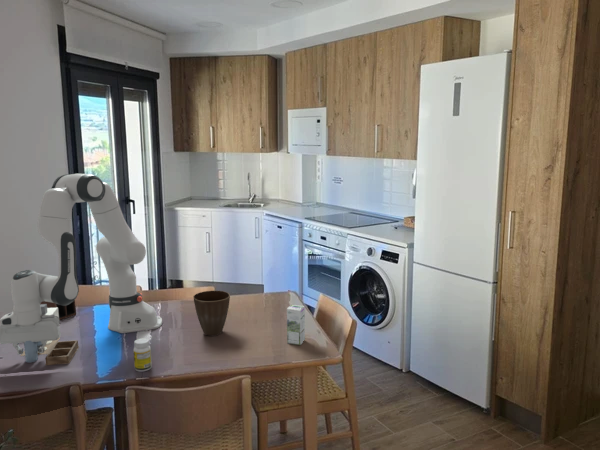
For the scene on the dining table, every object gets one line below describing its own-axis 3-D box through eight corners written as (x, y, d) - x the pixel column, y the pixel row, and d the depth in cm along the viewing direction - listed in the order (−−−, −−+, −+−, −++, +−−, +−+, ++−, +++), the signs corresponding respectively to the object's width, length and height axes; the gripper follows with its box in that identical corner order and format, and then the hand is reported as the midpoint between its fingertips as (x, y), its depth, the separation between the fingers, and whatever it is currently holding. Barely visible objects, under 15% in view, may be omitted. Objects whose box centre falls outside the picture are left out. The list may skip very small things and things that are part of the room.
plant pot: (238, 332, 217) (237, 295, 215) (209, 342, 207) (208, 303, 204) (216, 323, 228) (214, 288, 225) (187, 333, 217) (185, 296, 214)
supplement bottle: (136, 365, 186) (135, 337, 184) (153, 364, 186) (151, 337, 185) (132, 372, 180) (131, 344, 179) (149, 371, 181) (148, 343, 179)
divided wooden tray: (79, 349, 201) (78, 340, 200) (69, 365, 186) (68, 356, 185) (56, 350, 199) (56, 341, 198) (45, 367, 184) (44, 357, 184)
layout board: (60, 340, 210) (59, 325, 209) (49, 356, 194) (47, 340, 193) (33, 341, 208) (32, 327, 207) (20, 358, 192) (18, 342, 191)
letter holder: (50, 308, 251) (48, 279, 249) (76, 315, 241) (74, 285, 238) (31, 314, 243) (28, 284, 240) (57, 321, 232) (54, 290, 230)
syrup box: (305, 340, 208) (305, 305, 206) (300, 345, 203) (300, 309, 201) (291, 338, 210) (291, 303, 208) (286, 343, 205) (286, 308, 202)
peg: (39, 360, 191) (37, 336, 189) (36, 364, 187) (34, 340, 186) (28, 360, 190) (25, 337, 189) (24, 365, 186) (22, 341, 185)
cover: (59, 325, 227) (57, 299, 225) (49, 337, 212) (47, 310, 210) (37, 326, 225) (34, 300, 223) (26, 339, 211) (23, 312, 209)
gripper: (61, 311, 191) (64, 347, 193) (0, 315, 187) (4, 351, 189) (56, 317, 185) (59, 354, 187) (-7, 321, 181) (-3, 358, 183)
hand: (31, 353), depth 188 cm, fingers open, 6 cm apart
